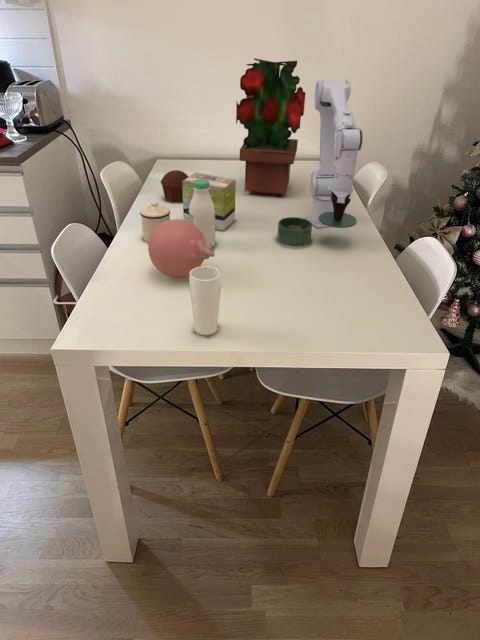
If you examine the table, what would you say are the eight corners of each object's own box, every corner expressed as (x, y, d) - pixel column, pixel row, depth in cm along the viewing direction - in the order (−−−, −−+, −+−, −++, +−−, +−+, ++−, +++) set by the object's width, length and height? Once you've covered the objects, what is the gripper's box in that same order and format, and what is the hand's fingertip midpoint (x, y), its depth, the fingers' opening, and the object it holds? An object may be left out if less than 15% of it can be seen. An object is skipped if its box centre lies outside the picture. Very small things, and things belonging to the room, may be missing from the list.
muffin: (190, 204, 179) (189, 177, 173) (159, 203, 178) (157, 176, 173) (193, 193, 188) (192, 167, 183) (164, 192, 188) (162, 166, 183)
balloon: (193, 299, 124) (191, 244, 116) (138, 275, 134) (133, 222, 126) (230, 277, 135) (231, 224, 126) (177, 256, 145) (174, 206, 136)
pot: (311, 235, 158) (313, 218, 155) (309, 249, 150) (311, 232, 147) (279, 232, 160) (280, 215, 157) (275, 246, 151) (276, 228, 148)
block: (288, 236, 157) (289, 224, 154) (300, 237, 156) (301, 225, 154) (286, 241, 153) (287, 229, 151) (299, 242, 153) (300, 231, 151)
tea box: (182, 223, 164) (180, 180, 156) (196, 213, 172) (195, 171, 164) (224, 231, 160) (224, 187, 151) (235, 220, 167) (236, 177, 159)
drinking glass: (203, 318, 118) (202, 262, 109) (226, 328, 115) (226, 271, 106) (185, 331, 113) (182, 274, 105) (208, 342, 110) (207, 283, 101)
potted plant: (234, 197, 185) (237, 64, 160) (244, 179, 203) (247, 57, 178) (293, 202, 183) (305, 67, 157) (297, 183, 201) (308, 59, 175)
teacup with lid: (167, 245, 150) (164, 209, 144) (138, 242, 151) (134, 206, 145) (177, 229, 160) (175, 195, 154) (150, 227, 161) (147, 192, 155)
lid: (356, 216, 153) (358, 203, 150) (356, 231, 144) (358, 217, 141) (319, 213, 154) (320, 200, 152) (317, 227, 145) (319, 214, 143)
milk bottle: (218, 242, 153) (218, 178, 142) (209, 252, 147) (208, 187, 136) (196, 238, 155) (194, 175, 144) (186, 248, 149) (183, 183, 138)
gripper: (330, 164, 147) (325, 207, 155) (329, 179, 135) (323, 225, 143) (354, 166, 146) (348, 209, 154) (355, 181, 134) (347, 228, 142)
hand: (337, 217), depth 148 cm, fingers closed on lid, 2 cm apart
